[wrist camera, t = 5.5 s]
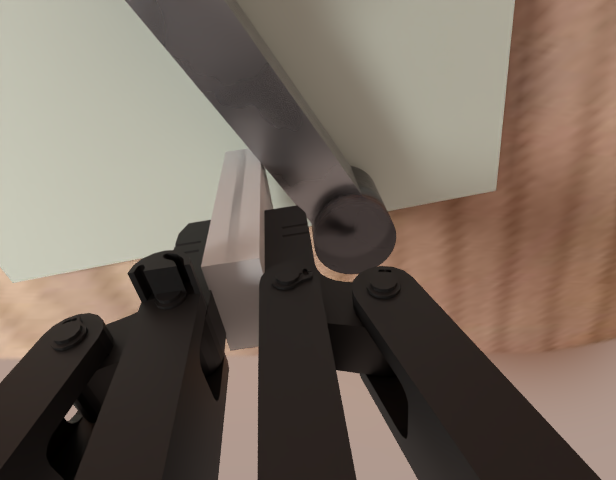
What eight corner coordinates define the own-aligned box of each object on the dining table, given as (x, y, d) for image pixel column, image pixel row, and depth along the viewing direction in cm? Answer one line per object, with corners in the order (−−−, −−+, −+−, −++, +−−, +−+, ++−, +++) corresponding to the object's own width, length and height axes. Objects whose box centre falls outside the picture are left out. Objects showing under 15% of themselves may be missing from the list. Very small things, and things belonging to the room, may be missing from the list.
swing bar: (75, -80, 11) (-8, -99, 8) (146, -158, 10) (87, -217, 7) (331, 233, 18) (344, 295, 14) (386, 200, 17) (414, 256, 14)
